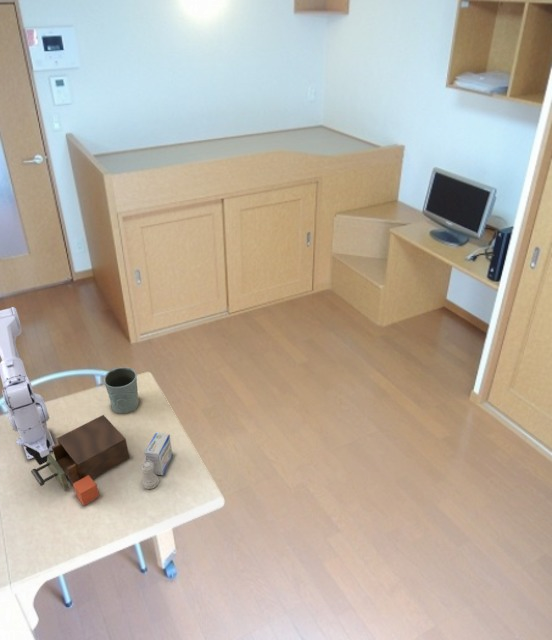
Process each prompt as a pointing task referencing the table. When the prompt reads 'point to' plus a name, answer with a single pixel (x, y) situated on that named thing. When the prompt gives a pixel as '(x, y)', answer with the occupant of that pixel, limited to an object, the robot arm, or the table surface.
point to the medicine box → (159, 452)
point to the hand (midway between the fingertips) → (41, 459)
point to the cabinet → (95, 447)
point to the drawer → (59, 467)
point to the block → (86, 490)
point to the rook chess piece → (149, 475)
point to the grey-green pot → (122, 389)
